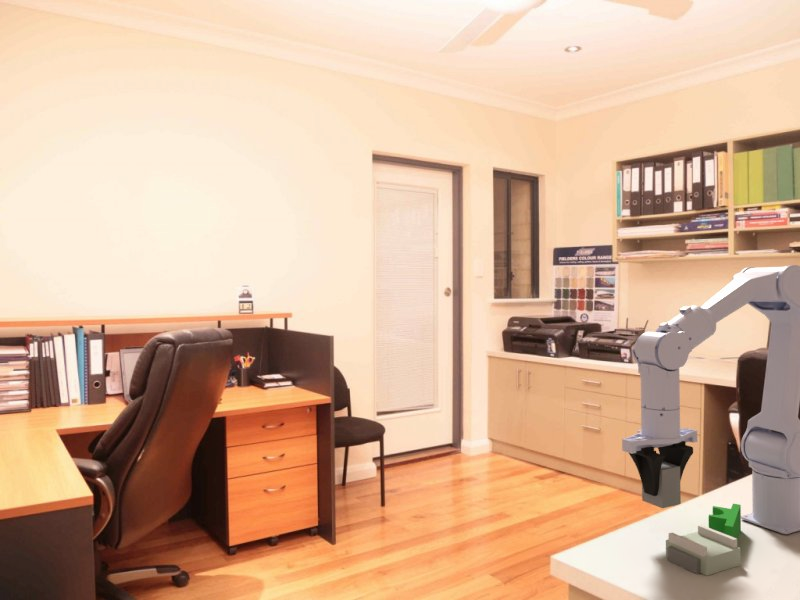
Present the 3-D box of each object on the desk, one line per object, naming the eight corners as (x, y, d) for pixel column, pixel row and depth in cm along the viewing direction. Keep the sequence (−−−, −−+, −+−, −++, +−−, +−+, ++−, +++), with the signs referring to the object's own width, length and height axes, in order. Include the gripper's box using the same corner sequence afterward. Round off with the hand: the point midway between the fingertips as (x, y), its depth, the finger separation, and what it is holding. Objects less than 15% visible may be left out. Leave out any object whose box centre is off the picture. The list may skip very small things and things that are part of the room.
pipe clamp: (715, 527, 104) (715, 500, 104) (740, 532, 102) (740, 504, 102) (705, 550, 95) (705, 520, 95) (733, 556, 93) (732, 525, 93)
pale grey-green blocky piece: (698, 547, 96) (698, 523, 96) (740, 565, 89) (740, 539, 89) (662, 557, 92) (661, 533, 92) (702, 576, 86) (702, 550, 86)
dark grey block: (654, 494, 101) (653, 458, 101) (680, 504, 97) (680, 466, 97) (636, 498, 100) (635, 461, 100) (662, 508, 95) (661, 470, 95)
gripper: (671, 398, 104) (672, 478, 104) (607, 407, 98) (608, 491, 98) (708, 405, 98) (709, 489, 98) (641, 415, 92) (643, 505, 92)
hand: (661, 491), depth 98 cm, fingers closed on dark grey block, 4 cm apart
